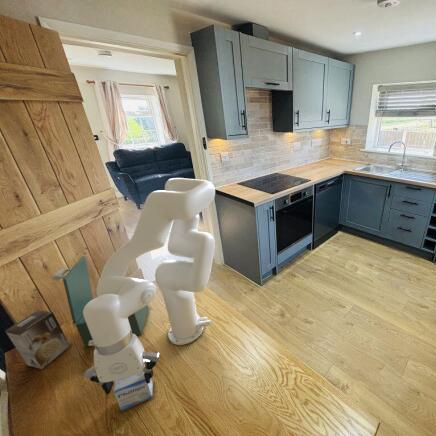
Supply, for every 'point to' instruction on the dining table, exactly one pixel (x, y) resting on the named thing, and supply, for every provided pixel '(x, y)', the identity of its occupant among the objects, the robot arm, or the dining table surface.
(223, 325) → the dining table surface
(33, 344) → the coffee box
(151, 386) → the medicine box
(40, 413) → the dining table surface
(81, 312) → the box lid
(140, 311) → the green box
